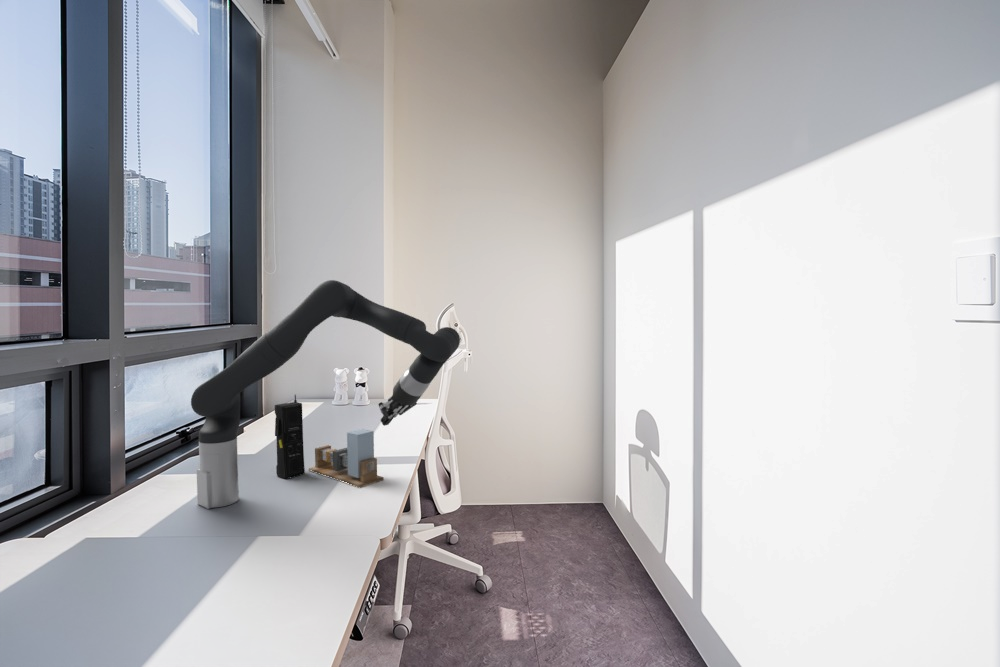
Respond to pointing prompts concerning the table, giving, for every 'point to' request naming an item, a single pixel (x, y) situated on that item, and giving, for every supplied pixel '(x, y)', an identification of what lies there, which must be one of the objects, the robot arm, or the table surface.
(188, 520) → the table surface
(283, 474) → the portable radio
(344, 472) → the stand
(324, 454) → the white long bar
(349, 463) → the sleeve
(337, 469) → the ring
